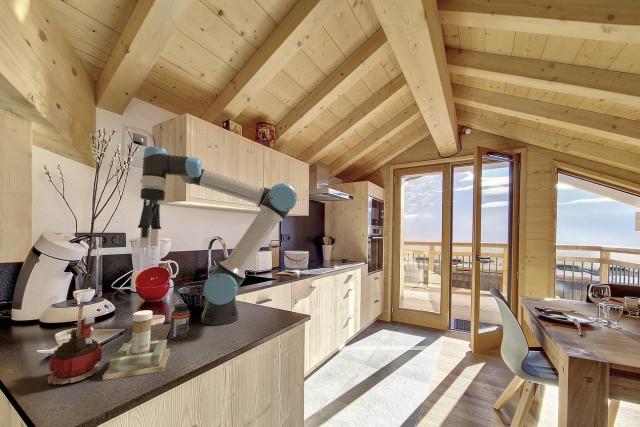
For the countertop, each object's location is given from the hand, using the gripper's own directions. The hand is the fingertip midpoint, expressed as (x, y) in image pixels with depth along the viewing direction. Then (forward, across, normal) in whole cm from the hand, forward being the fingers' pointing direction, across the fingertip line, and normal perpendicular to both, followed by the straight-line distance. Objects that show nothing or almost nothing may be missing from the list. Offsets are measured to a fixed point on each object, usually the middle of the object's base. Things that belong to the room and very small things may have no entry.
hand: (149, 246), depth 95 cm
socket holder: (+32, +23, +4) cm, 39 cm away
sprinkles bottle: (+31, +24, +4) cm, 39 cm away
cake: (+32, +25, -9) cm, 41 cm away
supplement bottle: (+32, +4, +12) cm, 34 cm away
